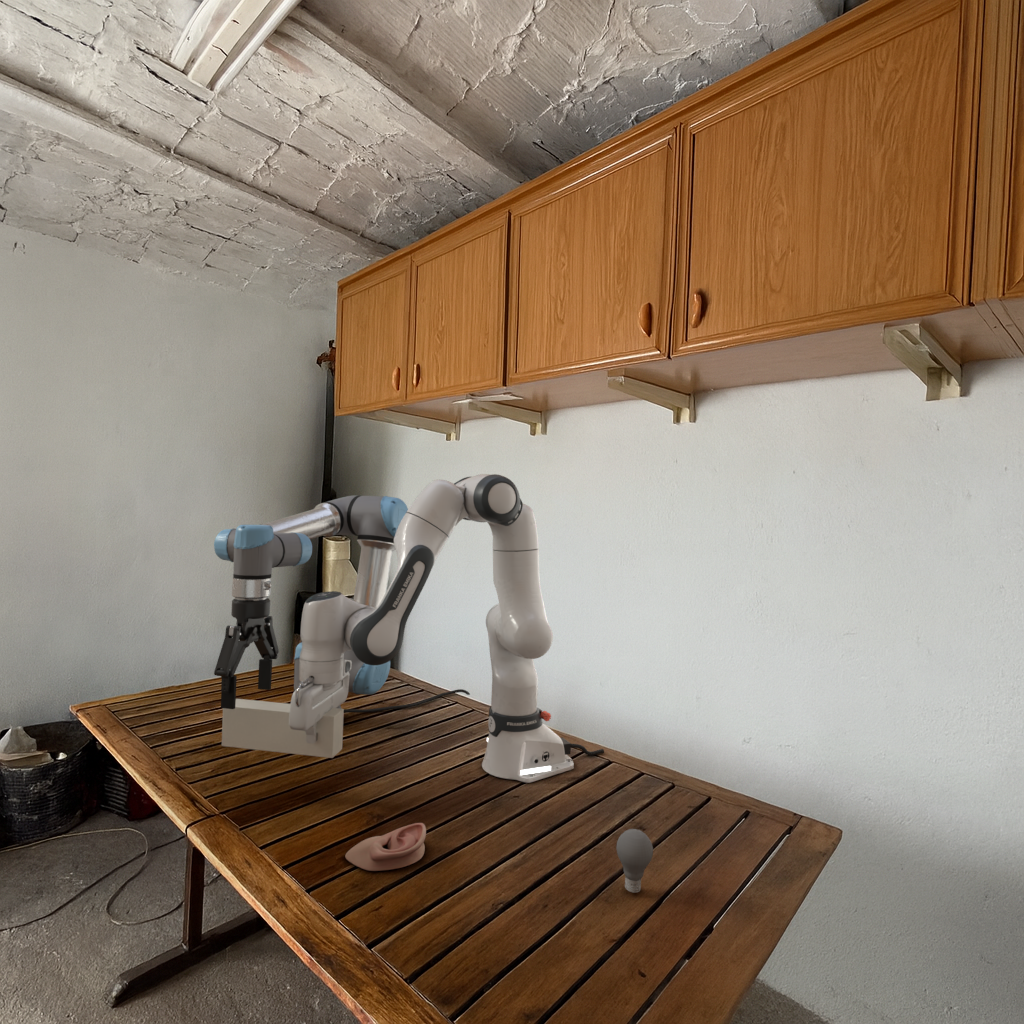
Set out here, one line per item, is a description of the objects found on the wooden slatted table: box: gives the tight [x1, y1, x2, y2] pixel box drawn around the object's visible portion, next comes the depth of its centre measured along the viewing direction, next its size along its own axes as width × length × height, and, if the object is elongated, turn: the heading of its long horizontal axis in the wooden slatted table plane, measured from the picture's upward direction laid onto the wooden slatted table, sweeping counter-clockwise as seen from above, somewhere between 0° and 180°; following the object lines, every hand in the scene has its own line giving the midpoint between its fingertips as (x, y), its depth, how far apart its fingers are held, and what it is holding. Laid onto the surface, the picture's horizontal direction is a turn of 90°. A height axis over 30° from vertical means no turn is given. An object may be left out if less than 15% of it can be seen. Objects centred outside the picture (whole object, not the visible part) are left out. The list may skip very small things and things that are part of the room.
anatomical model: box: [344, 822, 427, 872], centre depth 113 cm, size 13×4×12 cm
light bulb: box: [615, 828, 654, 894], centre depth 106 cm, size 6×6×10 cm
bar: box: [221, 698, 345, 759], centre depth 133 cm, size 25×5×8 cm, turn 81°
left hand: (247, 698), depth 134 cm, fingers open, 13 cm apart
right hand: (319, 736), depth 132 cm, fingers closed on bar, 5 cm apart
